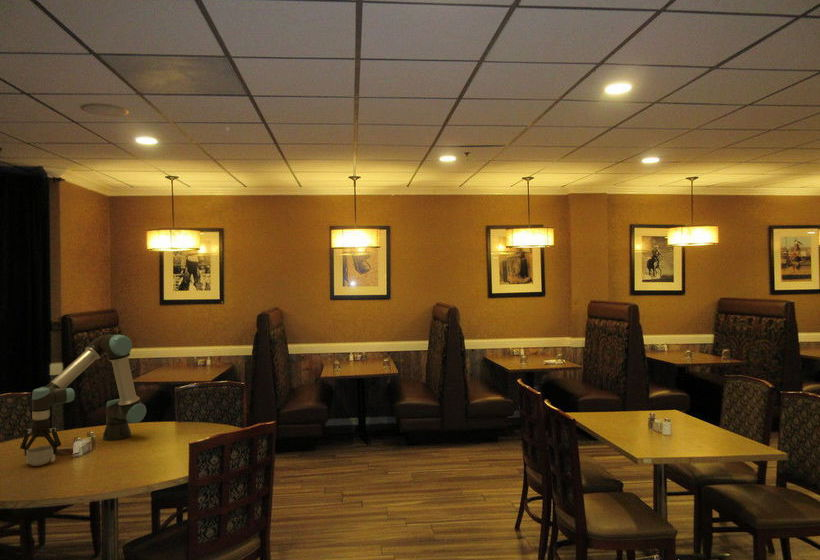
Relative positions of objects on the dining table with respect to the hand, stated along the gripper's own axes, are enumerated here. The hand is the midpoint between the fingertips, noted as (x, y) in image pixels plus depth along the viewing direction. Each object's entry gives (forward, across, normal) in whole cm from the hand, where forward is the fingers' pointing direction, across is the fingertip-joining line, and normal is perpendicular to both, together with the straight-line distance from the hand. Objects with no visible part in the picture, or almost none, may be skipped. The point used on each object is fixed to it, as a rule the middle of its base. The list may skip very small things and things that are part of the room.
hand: (40, 461), depth 277 cm
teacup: (+1, +1, 0) cm, 1 cm away
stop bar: (+1, 0, +17) cm, 17 cm away
